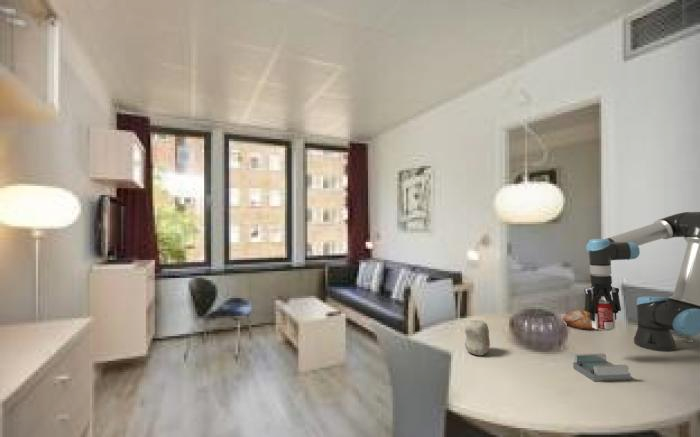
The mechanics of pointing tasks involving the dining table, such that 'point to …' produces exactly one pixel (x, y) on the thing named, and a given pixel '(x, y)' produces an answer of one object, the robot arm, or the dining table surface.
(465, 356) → the dining table surface
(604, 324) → the soda can
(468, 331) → the stone
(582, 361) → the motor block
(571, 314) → the bread
